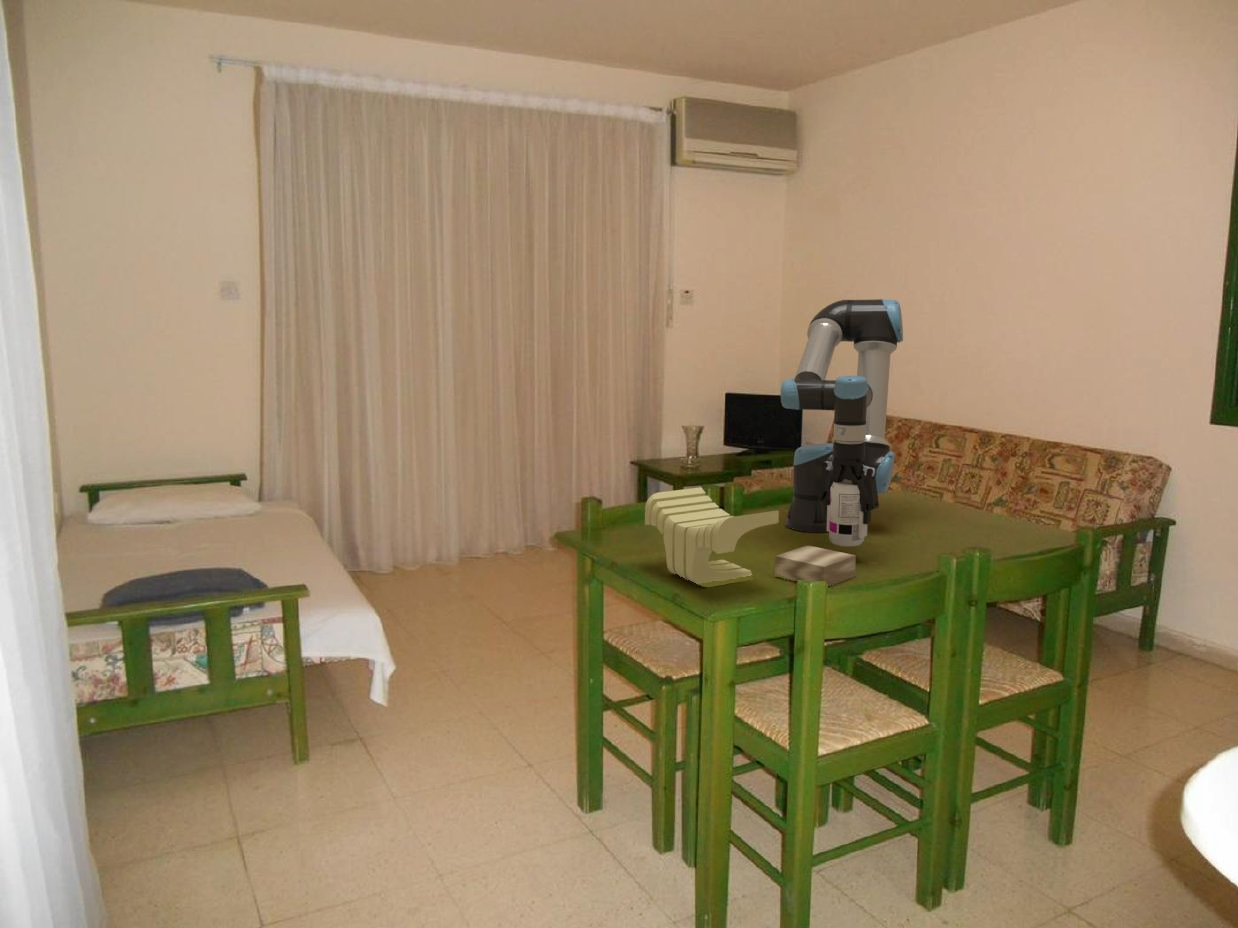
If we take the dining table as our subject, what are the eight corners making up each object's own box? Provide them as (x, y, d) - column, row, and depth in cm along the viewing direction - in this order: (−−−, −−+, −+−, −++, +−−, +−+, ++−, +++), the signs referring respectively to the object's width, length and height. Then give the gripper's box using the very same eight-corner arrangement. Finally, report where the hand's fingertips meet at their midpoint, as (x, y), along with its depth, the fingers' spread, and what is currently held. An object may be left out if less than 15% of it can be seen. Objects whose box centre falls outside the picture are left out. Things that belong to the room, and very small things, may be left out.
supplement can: (822, 542, 224) (824, 482, 221) (841, 536, 230) (842, 477, 227) (851, 549, 218) (853, 487, 215) (870, 542, 224) (872, 481, 221)
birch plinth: (774, 577, 211) (775, 555, 210) (807, 565, 220) (807, 545, 219) (823, 588, 202) (824, 566, 201) (855, 576, 211) (855, 555, 210)
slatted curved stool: (645, 566, 220) (644, 494, 217) (700, 557, 227) (701, 487, 224) (716, 601, 194) (717, 518, 191) (777, 589, 201) (778, 510, 198)
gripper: (803, 438, 224) (801, 528, 228) (881, 448, 209) (877, 544, 214) (820, 434, 229) (818, 523, 233) (897, 443, 215) (893, 537, 219)
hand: (846, 533), depth 224 cm, fingers closed on supplement can, 8 cm apart
